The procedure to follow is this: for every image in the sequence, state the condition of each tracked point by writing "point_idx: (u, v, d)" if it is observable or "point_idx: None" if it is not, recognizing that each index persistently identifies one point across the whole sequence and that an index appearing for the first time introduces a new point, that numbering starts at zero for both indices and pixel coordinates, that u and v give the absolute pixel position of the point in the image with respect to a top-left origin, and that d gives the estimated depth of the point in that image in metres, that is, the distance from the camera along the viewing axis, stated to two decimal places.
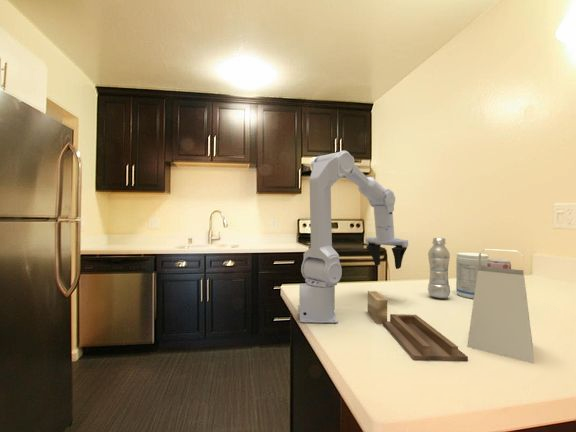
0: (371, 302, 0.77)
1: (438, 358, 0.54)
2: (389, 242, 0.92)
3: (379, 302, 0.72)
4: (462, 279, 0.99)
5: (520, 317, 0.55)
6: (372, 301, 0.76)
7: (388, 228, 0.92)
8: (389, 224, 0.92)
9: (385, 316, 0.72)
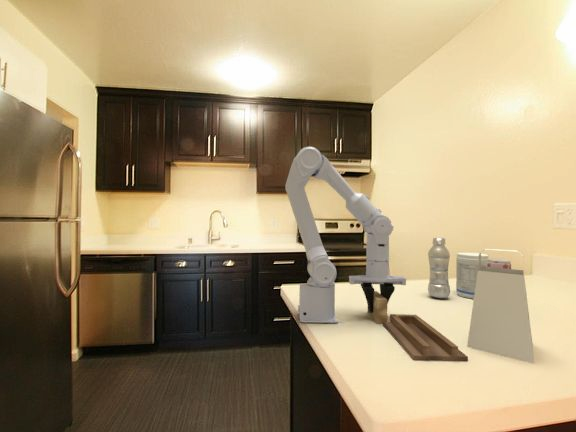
0: None
1: (438, 358, 0.54)
2: (390, 280, 0.75)
3: (379, 302, 0.72)
4: (462, 279, 0.99)
5: (520, 317, 0.55)
6: None
7: (388, 262, 0.75)
8: (376, 258, 0.74)
9: (385, 316, 0.72)
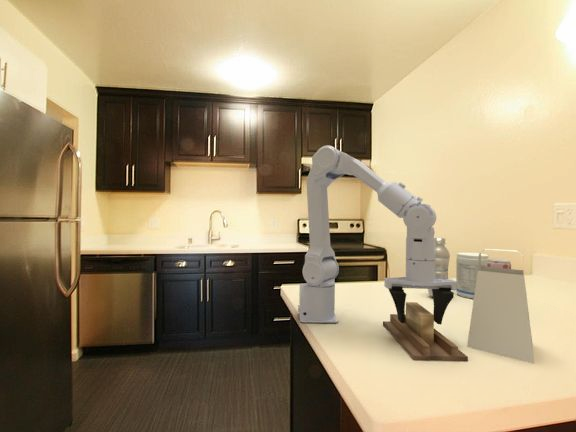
0: (411, 316, 0.64)
1: (438, 358, 0.54)
2: (437, 284, 0.60)
3: (423, 317, 0.59)
4: (462, 279, 0.99)
5: (520, 317, 0.55)
6: (413, 315, 0.63)
7: (434, 262, 0.61)
8: (412, 256, 0.61)
9: (431, 335, 0.58)
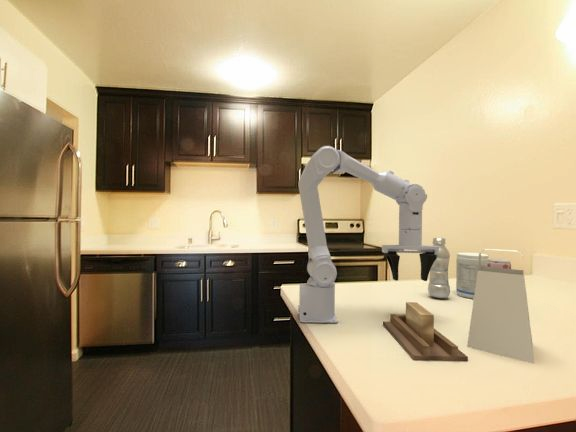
0: (411, 316, 0.64)
1: (438, 358, 0.54)
2: (424, 248, 0.76)
3: (423, 317, 0.59)
4: (462, 279, 0.99)
5: (520, 317, 0.55)
6: (413, 315, 0.63)
7: (421, 231, 0.76)
8: (411, 226, 0.75)
9: (431, 335, 0.58)
